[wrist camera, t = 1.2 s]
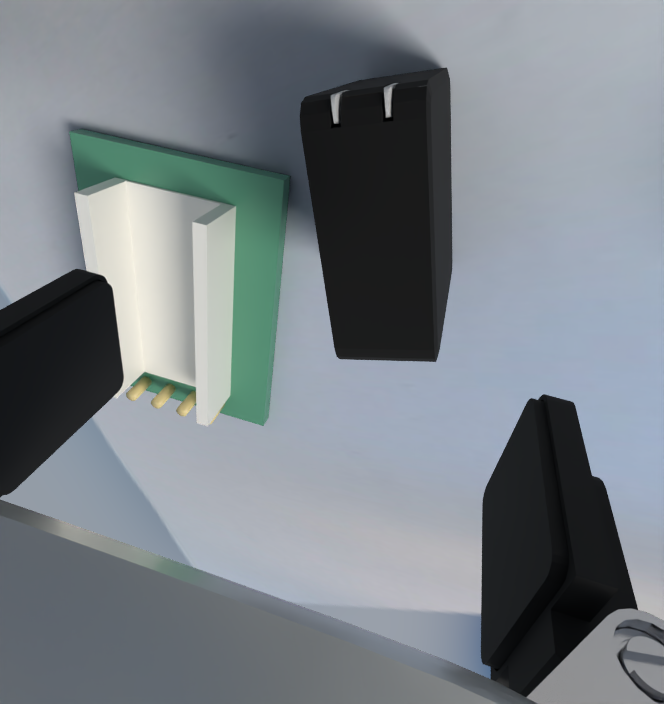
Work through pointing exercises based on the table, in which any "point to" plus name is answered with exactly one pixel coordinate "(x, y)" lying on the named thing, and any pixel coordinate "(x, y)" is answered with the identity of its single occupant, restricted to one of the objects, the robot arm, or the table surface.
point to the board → (186, 270)
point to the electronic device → (383, 211)
